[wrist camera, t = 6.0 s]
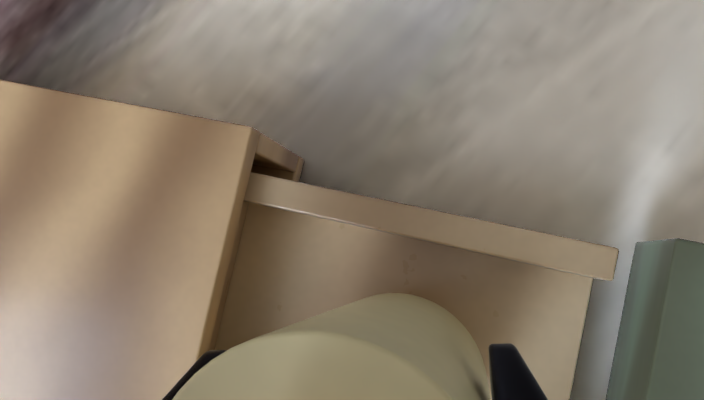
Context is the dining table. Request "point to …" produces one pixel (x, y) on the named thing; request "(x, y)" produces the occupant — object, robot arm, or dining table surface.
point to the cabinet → (115, 240)
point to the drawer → (464, 284)
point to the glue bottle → (352, 357)
